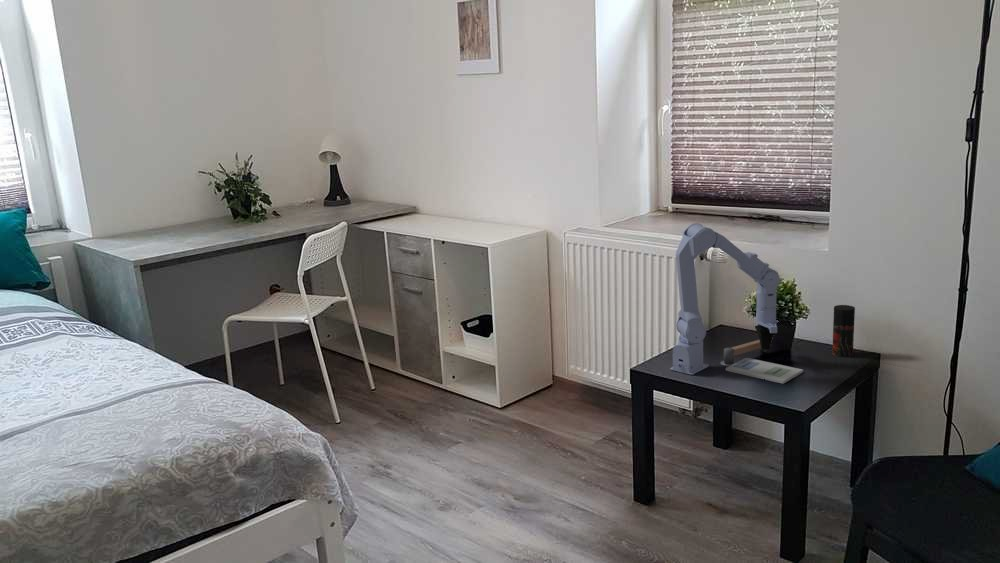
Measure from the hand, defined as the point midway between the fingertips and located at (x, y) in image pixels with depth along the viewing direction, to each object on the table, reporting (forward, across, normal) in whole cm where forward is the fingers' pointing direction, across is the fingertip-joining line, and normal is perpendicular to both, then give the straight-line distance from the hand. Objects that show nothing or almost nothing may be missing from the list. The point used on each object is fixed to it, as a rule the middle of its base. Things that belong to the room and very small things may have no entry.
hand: (765, 348), depth 252 cm
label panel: (+4, -7, +5) cm, 10 cm away
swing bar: (+3, +4, +3) cm, 6 cm away
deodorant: (+4, +2, -25) cm, 25 cm away
